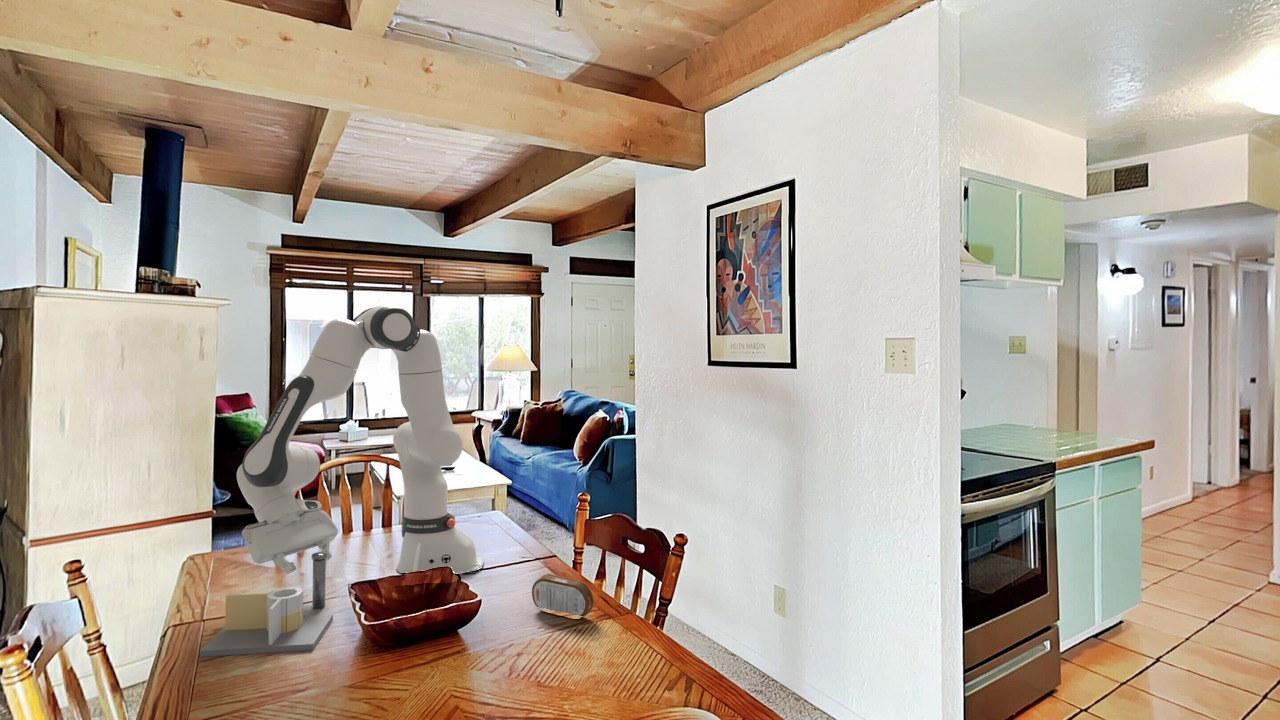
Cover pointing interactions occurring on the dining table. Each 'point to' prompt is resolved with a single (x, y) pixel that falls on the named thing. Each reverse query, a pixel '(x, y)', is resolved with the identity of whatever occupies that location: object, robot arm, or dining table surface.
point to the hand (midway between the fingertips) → (310, 565)
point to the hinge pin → (319, 579)
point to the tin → (562, 595)
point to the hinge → (267, 625)
